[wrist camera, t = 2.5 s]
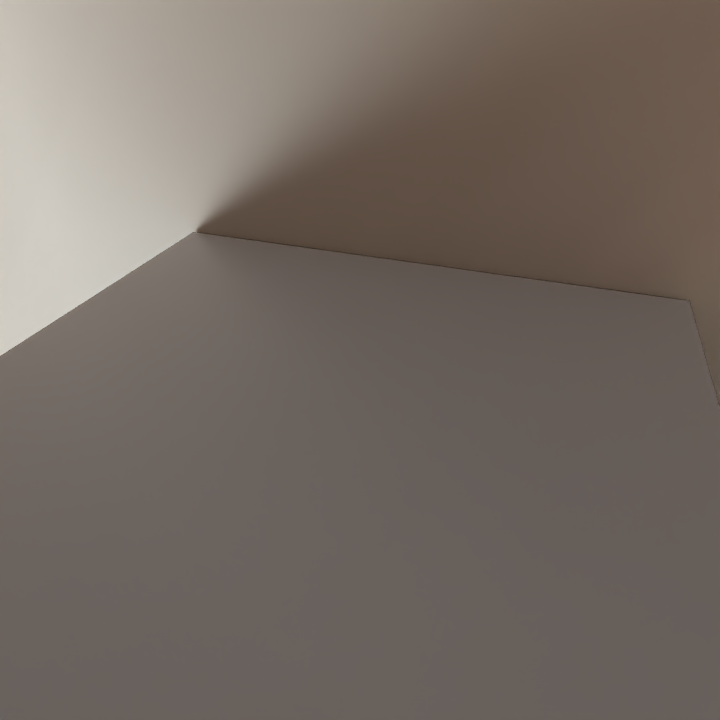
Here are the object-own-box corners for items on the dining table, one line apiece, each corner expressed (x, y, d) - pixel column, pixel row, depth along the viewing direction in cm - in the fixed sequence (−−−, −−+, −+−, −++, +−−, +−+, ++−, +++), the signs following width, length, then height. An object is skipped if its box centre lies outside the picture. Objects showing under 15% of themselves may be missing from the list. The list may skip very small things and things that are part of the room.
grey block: (234, 548, 15) (-110, 1094, 7) (193, 232, 11) (-650, 773, 3) (577, 642, 13) (554, 1503, 6) (689, 301, 9) (1143, 1888, 1)
